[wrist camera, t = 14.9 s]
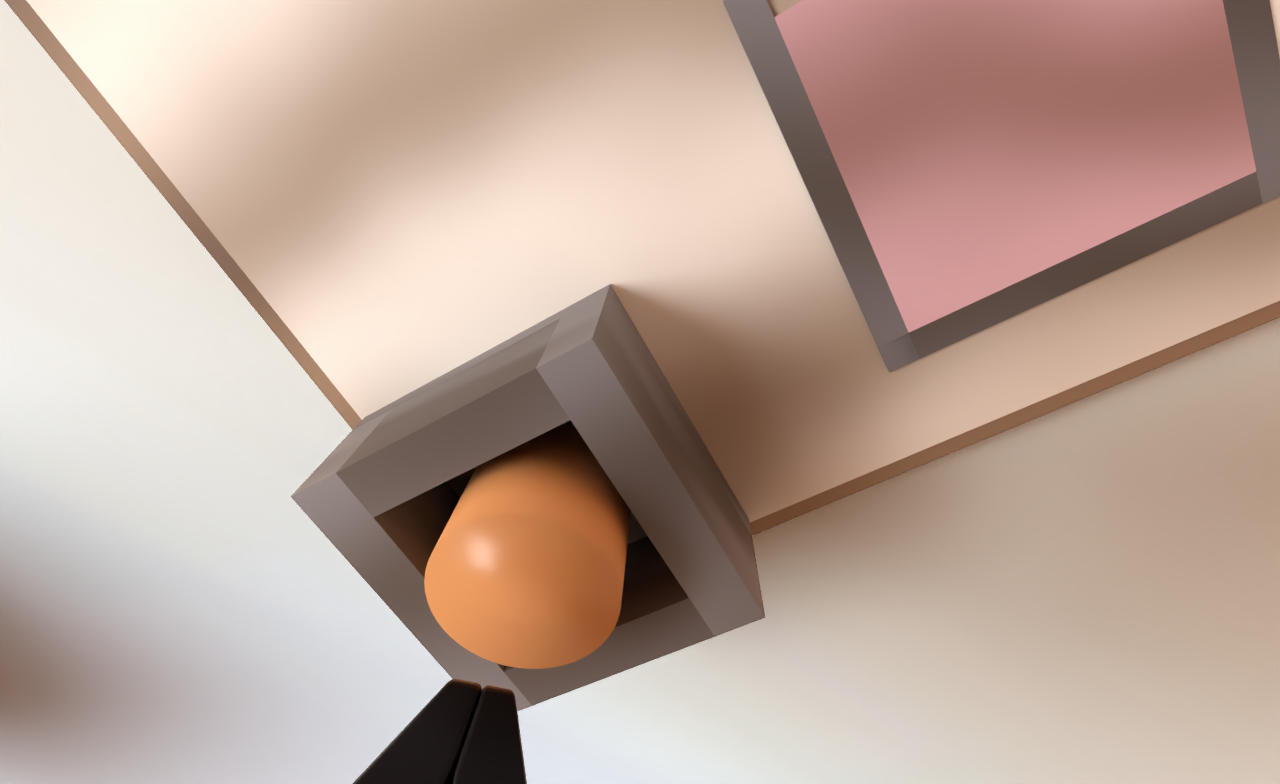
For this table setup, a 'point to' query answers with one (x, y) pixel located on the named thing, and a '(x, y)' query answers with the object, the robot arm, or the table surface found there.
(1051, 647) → the table surface
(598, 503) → the button
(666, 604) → the colouring board
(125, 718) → the table surface
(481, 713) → the robot arm
